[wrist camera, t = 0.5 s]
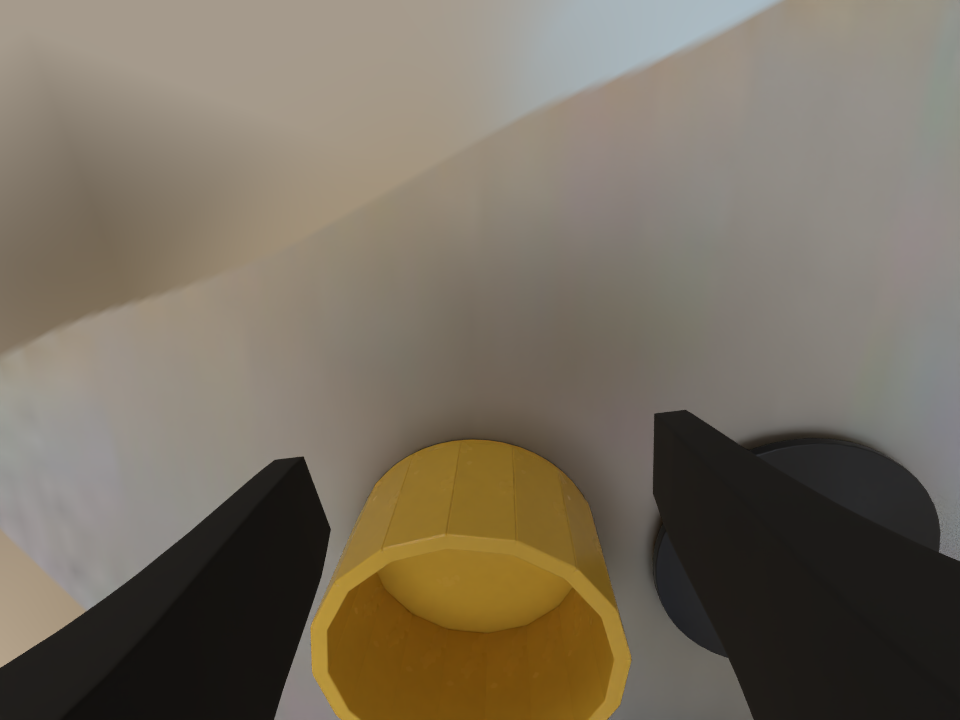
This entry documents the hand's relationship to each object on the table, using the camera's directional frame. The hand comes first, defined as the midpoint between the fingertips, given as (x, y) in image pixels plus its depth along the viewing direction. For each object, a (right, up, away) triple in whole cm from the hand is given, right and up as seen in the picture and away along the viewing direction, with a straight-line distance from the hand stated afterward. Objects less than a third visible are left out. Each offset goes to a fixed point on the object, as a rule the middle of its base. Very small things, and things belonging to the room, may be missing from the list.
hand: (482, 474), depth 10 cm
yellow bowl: (0, -6, +13) cm, 15 cm away
